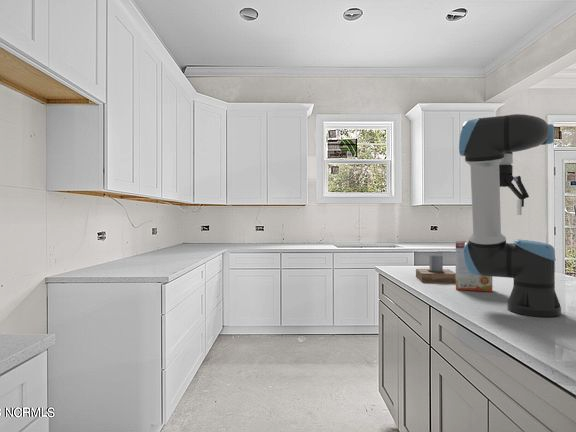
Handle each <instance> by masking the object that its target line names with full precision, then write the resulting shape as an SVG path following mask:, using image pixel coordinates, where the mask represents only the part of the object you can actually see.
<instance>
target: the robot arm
mask: <svg viewBox="0 0 576 432" xmlns="http://www.w3.org/2000/svg"><path fill="white" fill-rule="evenodd" d="M554 142H555V126H554V124H552V123H549V124H548V123H547V122H546V120H544V119H543V118H541V117H539V116H535V115H529V114H521V113H516V114H515V113H513V114H508V115H507V114H506V115H498V116H489V117H478V118H475V119H473V118H472V119H469V120H468V119H467V120H466V121H465V122H464V123H463V125H462V126H461V130H460V133H459V142H458V151H459V155H460V156H462V157H464V162H465V163H467V164H468V165H469V166H470V187H471V189H470V190H471V212H472V213H471V214H472V234H471V235H470V236H468V240H469V241H468V242H466V243H465V244H464V259H465V264H466V267H467V269H468V271H469V272H470V273H471V274H474V275H481V276H492V277H494V278H495V277H498V278H510V279H513V286H512V289H511V293H510V295H509V298H508V300H507V310H508V311H509V312H513V313H515V314H520V315H526V316H531V317H543V318H548V317H549V318H550V317H551V318H552V317H559V316H561V315H562V306H561V304H560V301H559V298H558V295H557V292H556V285H555V284H556V283H555V281H556V279H555V278H556V275H555V273H556V267H555V266H556V263H555V261H556V253H555V250H556V249H555V248H554V246H553V245H552V244H549V243H547V242H541V241H535V240H528V239H527V240H526V239H520V238H519V239H517V238H516V239H514V240H513V241H512V243H509V242H508V243H507V237H506V236H505V235H503V234H502V230H501V229H502V223H501V220H502V219H501V188H502V187H503V188H505V187H506V188H509V189H510V190H511V192H513V194H514V195H515V196H516V197H517V198H518V199H516V215H517V216H522V215H523V214H522V213H523V212H522V209H523V207H524V206H525V199H528V198H530V196H529V193H528V192H527V189H526V187H525V185H524V184H523V181H522V177H521V175H517V176H513V172H514V171H513V169H514V168H513V163H514V160H513V154H514V152H515V153H516V152H521V151H525V150H529V149H533V148H537V147H539V146H541V145H542V146H545V145H551V144H553V143H554ZM513 181H514V182H515V183H516V185H517V187H516V186H515V185H514V183H513Z"/></svg>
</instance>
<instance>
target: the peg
mask: <svg viewBox="0 0 576 432" xmlns="http://www.w3.org/2000/svg"><path fill="white" fill-rule="evenodd" d="M443 259H444V257H443V254H431V253H430V254H429V269H430V272H435V273H443V269H444V268H443V264H444V263H443Z"/></svg>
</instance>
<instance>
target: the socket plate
mask: <svg viewBox="0 0 576 432" xmlns="http://www.w3.org/2000/svg"><path fill="white" fill-rule="evenodd" d="M415 277H416V278H417V279H418V280H419V281H420V282H421V283H438V284H439V283H442V284H443V283H445V284H446V283H447V284H456V271H453V270H450V268H449V269H448V268H447V269H444V268H443V273H435V272H430V268H415Z"/></svg>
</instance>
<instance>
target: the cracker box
mask: <svg viewBox="0 0 576 432" xmlns="http://www.w3.org/2000/svg"><path fill="white" fill-rule="evenodd" d="M468 241H469V239H456V240H455V273H456V283H455V289H456V291H457V290H458V291H473V292H477V291H478V292H486V293H487V292H488V293H493V276H481V275H474V274H471V273H470V272H469V271H468V269H467V267H466V264H465V259H464V244H465V243H466V242H468Z"/></svg>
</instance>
